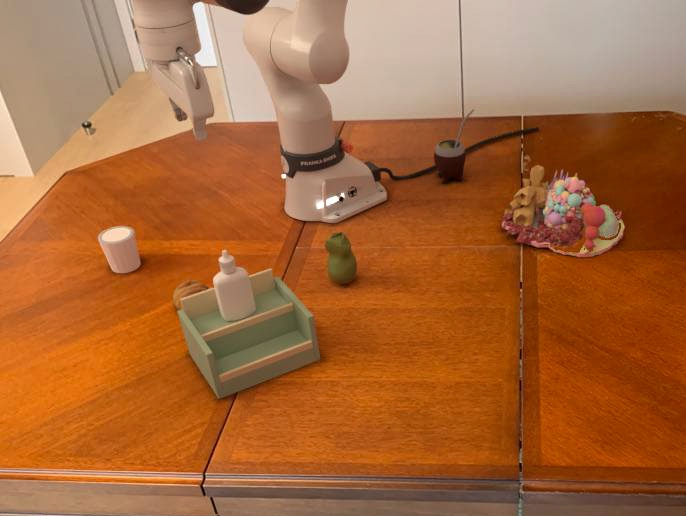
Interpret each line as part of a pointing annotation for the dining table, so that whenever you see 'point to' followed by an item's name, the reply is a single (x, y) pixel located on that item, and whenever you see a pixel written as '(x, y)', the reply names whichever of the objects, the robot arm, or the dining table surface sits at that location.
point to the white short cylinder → (120, 248)
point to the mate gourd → (451, 157)
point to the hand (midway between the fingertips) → (191, 129)
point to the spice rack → (249, 336)
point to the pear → (340, 259)
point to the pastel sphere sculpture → (560, 215)
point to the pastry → (187, 291)
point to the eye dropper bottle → (233, 290)
